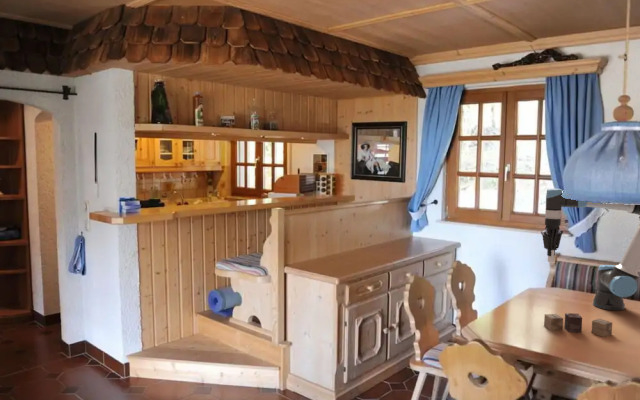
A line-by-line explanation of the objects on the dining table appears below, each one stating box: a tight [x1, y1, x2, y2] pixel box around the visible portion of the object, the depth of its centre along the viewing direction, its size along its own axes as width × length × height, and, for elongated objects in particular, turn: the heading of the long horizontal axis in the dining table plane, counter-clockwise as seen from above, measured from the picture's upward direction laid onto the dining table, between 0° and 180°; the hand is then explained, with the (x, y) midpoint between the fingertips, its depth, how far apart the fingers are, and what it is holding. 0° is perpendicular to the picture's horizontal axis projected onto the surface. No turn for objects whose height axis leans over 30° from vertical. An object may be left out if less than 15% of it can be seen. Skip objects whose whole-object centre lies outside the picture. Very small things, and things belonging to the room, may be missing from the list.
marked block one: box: [591, 318, 613, 338], centre depth 231 cm, size 6×6×6 cm
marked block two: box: [543, 313, 564, 331], centre depth 238 cm, size 6×6×6 cm
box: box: [564, 312, 583, 333], centre depth 235 cm, size 6×6×7 cm
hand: (550, 261), depth 262 cm, fingers closed
